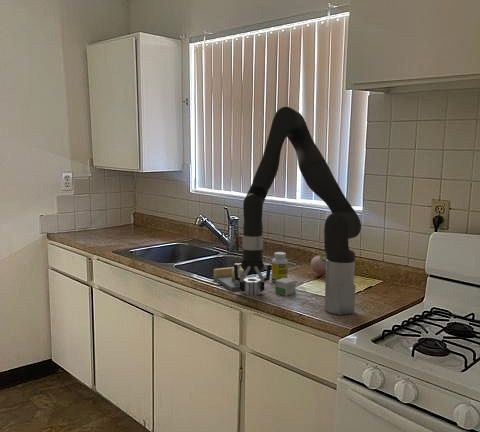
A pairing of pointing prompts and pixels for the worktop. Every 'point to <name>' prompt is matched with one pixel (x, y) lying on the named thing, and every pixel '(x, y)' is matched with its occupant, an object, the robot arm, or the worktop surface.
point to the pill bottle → (279, 266)
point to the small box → (285, 286)
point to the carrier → (228, 277)
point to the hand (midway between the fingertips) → (251, 291)
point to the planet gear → (252, 286)
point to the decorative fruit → (319, 264)
